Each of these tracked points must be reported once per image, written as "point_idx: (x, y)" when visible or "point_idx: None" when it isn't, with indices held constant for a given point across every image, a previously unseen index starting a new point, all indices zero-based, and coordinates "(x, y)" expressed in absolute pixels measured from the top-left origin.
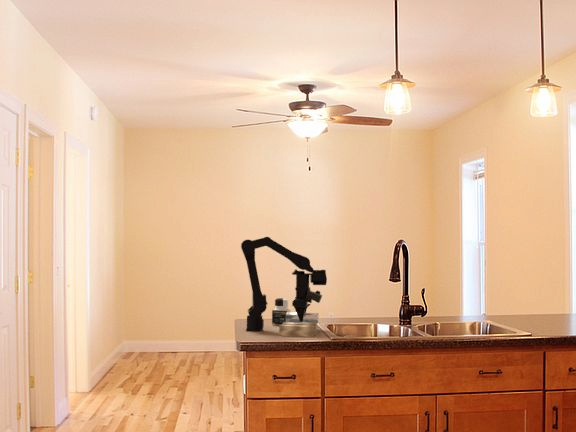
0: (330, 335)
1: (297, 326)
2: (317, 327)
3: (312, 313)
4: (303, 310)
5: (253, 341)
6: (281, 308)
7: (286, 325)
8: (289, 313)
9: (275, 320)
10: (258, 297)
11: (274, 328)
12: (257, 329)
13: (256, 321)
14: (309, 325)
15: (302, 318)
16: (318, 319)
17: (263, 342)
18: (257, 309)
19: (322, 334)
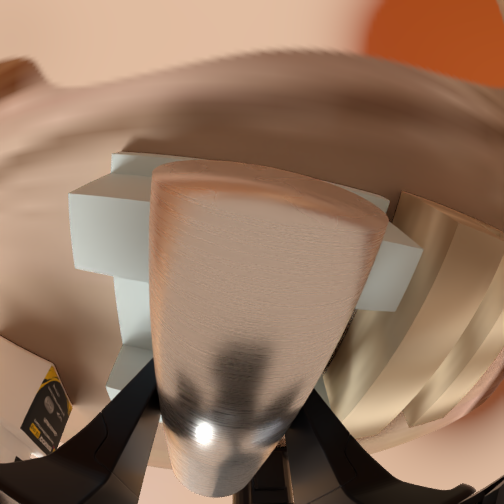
0: (493, 108)
1: (501, 348)
2: (130, 162)
3: (293, 366)
4: (380, 479)
5: (477, 398)
6: (23, 448)
7: (452, 400)
8: (240, 487)
9: (62, 415)
10: None
11: None
12: (286, 457)
13: (291, 486)
14: None
15: (317, 398)
16: (207, 166)
17: (499, 376)
18: None
19: (464, 152)
